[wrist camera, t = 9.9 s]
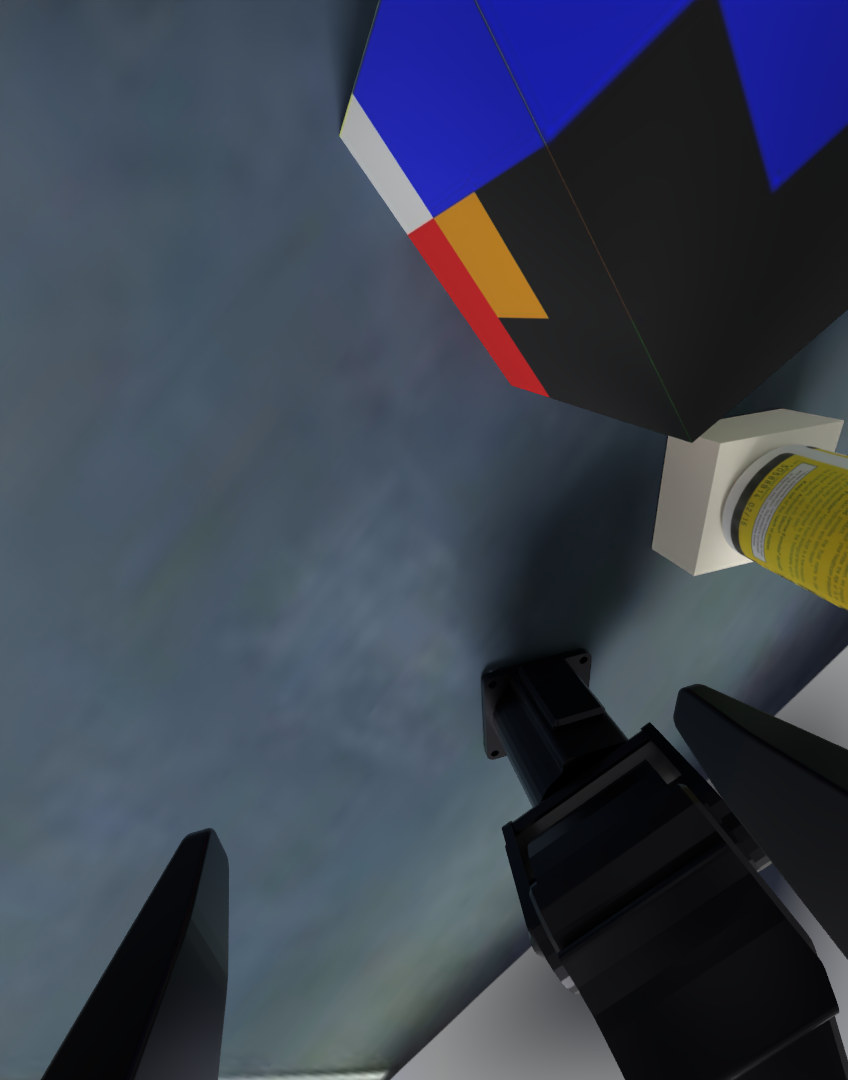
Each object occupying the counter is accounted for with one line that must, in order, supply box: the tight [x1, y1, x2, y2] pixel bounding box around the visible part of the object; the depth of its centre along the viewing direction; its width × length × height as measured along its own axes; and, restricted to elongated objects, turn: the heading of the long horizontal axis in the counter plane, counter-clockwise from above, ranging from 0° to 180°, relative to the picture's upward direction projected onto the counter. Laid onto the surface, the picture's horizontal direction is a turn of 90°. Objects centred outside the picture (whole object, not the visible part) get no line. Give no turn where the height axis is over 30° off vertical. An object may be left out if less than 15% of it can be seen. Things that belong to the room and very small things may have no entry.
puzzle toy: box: [339, 0, 848, 443], centre depth 12 cm, size 10×10×10 cm
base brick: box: [652, 409, 844, 576], centre depth 23 cm, size 6×6×3 cm
